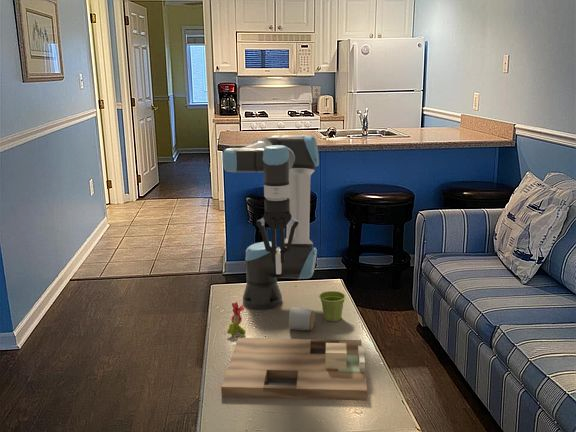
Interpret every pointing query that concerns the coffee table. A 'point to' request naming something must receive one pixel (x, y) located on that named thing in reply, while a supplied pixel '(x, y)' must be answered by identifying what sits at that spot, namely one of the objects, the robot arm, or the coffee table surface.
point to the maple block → (336, 355)
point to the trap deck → (293, 370)
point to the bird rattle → (236, 320)
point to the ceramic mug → (301, 319)
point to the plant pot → (332, 305)
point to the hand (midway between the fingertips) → (278, 272)
